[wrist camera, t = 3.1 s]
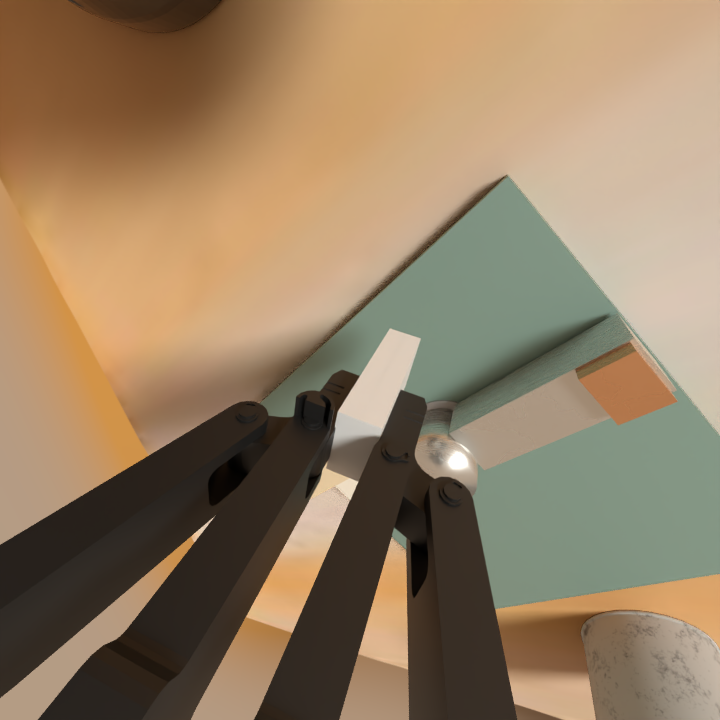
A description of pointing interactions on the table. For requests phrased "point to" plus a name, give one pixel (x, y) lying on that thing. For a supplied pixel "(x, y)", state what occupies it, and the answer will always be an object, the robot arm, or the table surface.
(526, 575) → the board
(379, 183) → the table surface
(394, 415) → the robot arm
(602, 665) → the speckled grey cylinder
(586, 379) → the bar
